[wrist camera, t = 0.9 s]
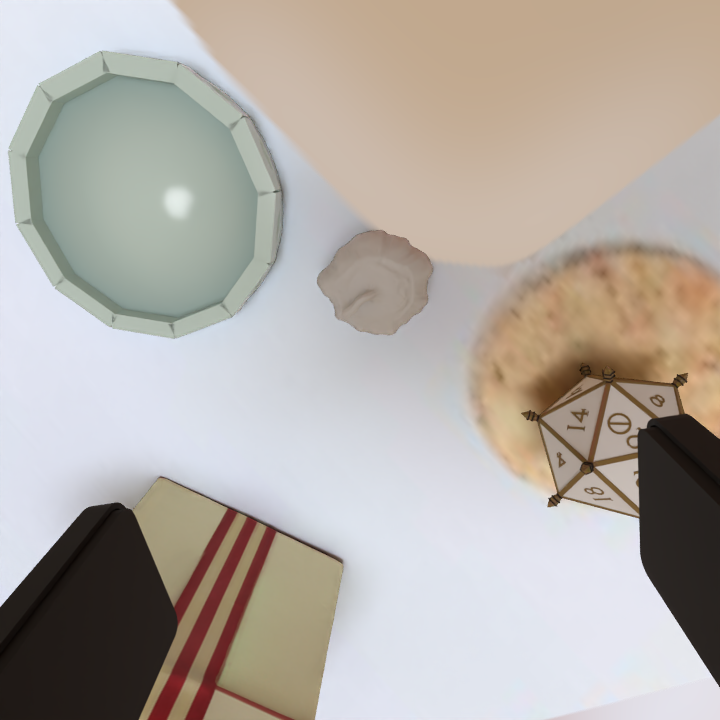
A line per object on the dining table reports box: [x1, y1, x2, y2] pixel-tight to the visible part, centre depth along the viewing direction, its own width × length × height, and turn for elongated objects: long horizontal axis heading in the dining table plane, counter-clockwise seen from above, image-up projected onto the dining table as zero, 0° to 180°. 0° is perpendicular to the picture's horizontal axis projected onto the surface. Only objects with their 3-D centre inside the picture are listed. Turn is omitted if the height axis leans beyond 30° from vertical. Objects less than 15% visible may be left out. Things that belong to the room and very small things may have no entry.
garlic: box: [317, 230, 433, 335], centre depth 27 cm, size 6×5×5 cm
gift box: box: [133, 478, 343, 720], centre depth 31 cm, size 17×18×17 cm
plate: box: [8, 51, 283, 339], centre depth 28 cm, size 14×14×2 cm
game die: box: [521, 363, 688, 518], centre depth 28 cm, size 9×8×10 cm
